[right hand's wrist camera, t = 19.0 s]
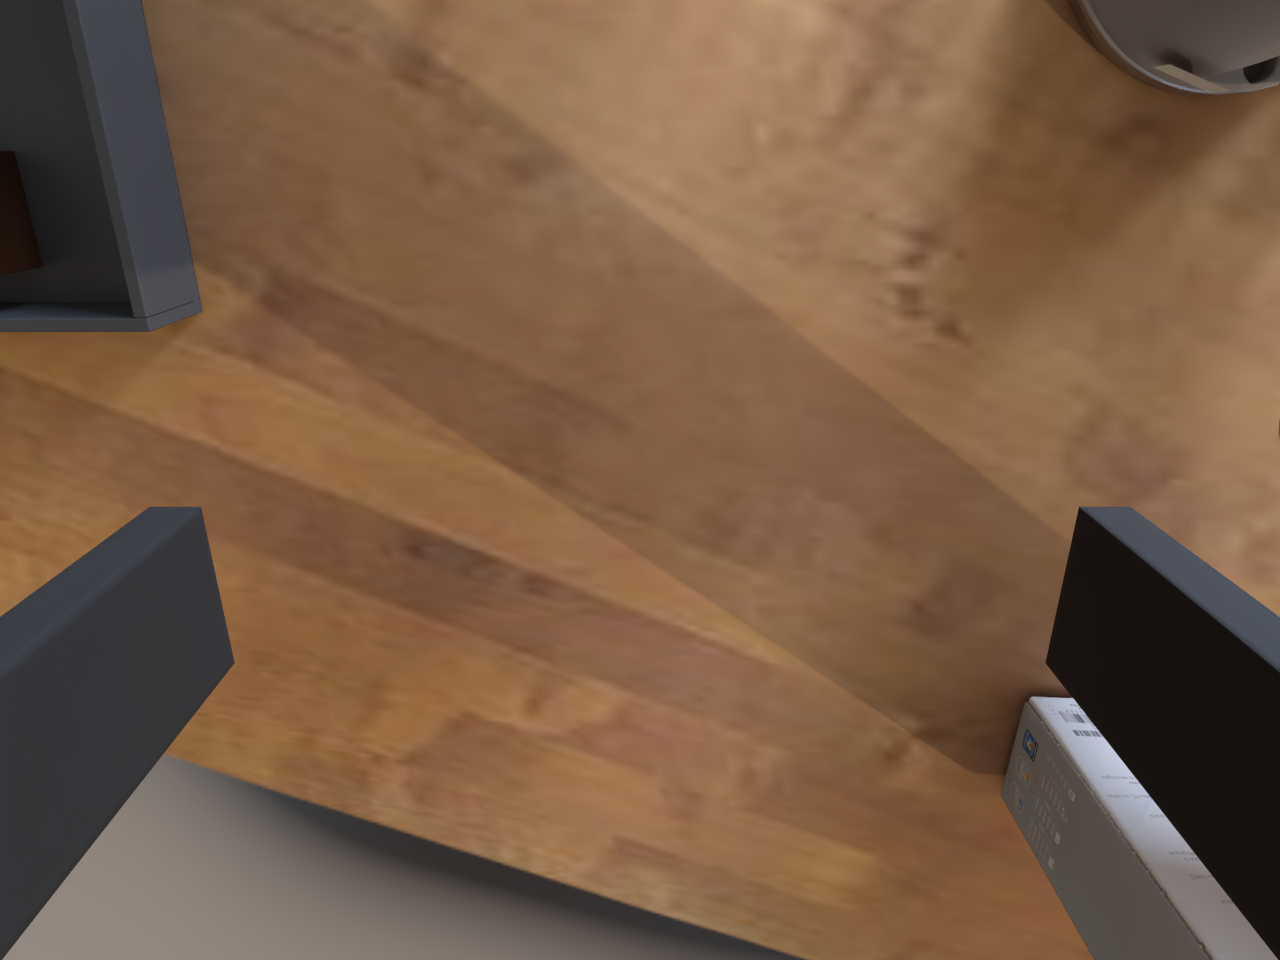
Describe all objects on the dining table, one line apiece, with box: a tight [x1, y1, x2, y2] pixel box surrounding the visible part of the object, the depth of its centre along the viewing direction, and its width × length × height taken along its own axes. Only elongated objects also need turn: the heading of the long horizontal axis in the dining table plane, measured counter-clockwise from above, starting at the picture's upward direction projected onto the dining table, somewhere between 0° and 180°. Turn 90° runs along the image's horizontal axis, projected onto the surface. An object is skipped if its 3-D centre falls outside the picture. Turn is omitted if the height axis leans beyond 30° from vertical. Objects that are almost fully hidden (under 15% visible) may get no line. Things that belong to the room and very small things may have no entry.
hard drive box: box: [1001, 697, 1278, 960], centre depth 40 cm, size 16×8×20 cm, turn 87°
